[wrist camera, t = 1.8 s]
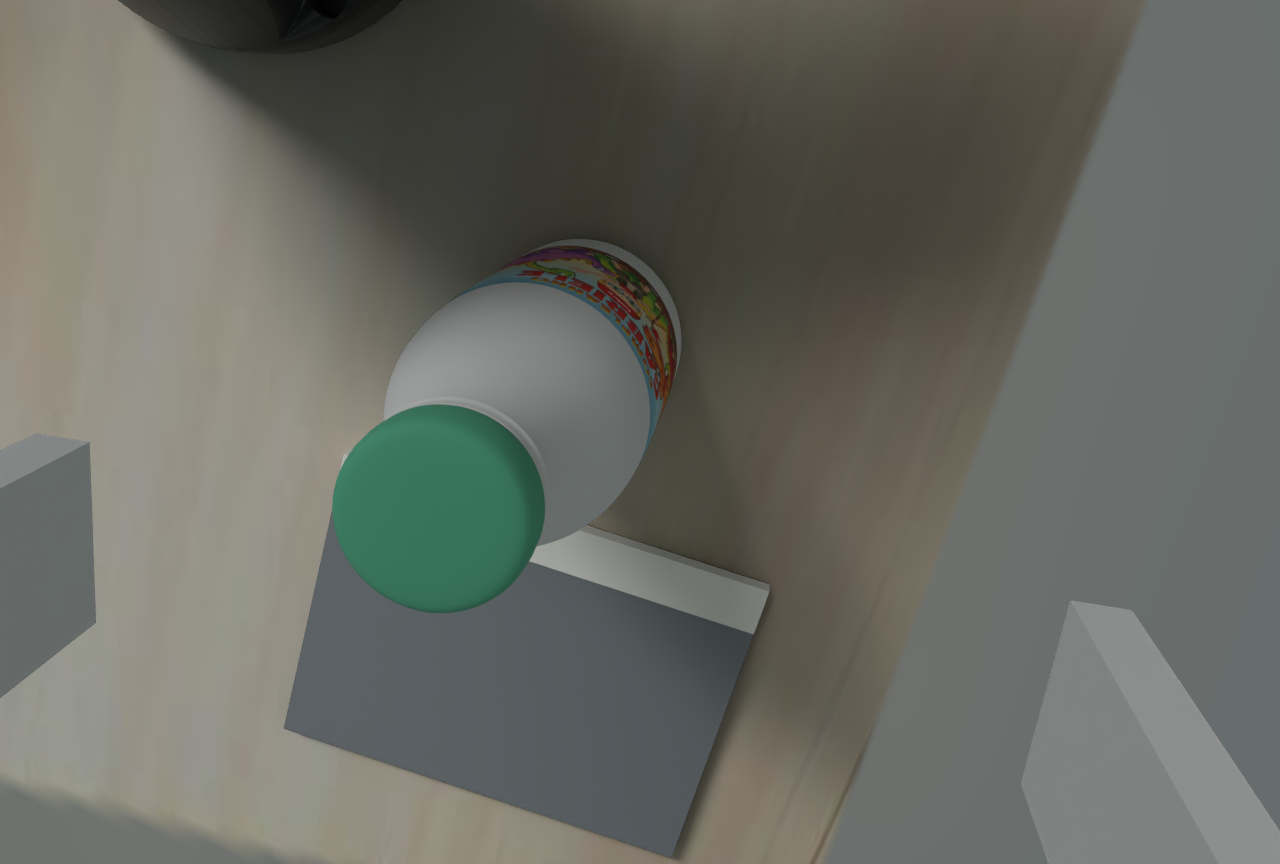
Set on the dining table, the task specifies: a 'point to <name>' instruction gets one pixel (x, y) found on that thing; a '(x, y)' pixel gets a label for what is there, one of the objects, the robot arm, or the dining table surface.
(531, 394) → the milk bottle
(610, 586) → the mat
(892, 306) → the dining table surface
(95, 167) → the dining table surface
